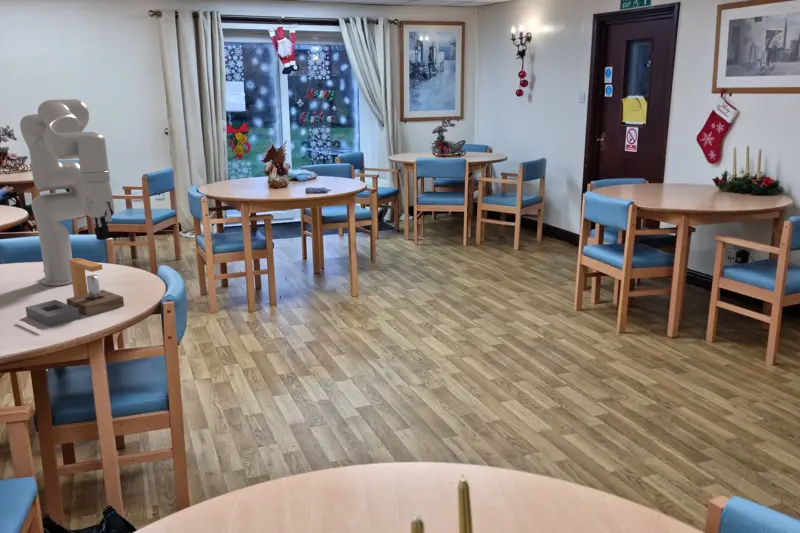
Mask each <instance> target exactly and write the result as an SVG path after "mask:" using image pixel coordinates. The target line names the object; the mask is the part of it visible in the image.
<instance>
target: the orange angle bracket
mask: <svg viewBox="0 0 800 533" xmlns="http://www.w3.org/2000/svg"><path fill="white" fill-rule="evenodd" d="M69 261H70V268H71V276H72V283H71V284H72V290H73V295H74V296H73V297H76V296H80V295H84V294H88V293H89V292H88V284H87V275H86V271H89V272H92V273H93V272H97V271H102V270H104V268H103V264H101V263H98V262H94V261H92V260H91V261H90V260H88V259H84V258H81V257H77V258H72V259H71V260H69Z"/></svg>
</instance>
